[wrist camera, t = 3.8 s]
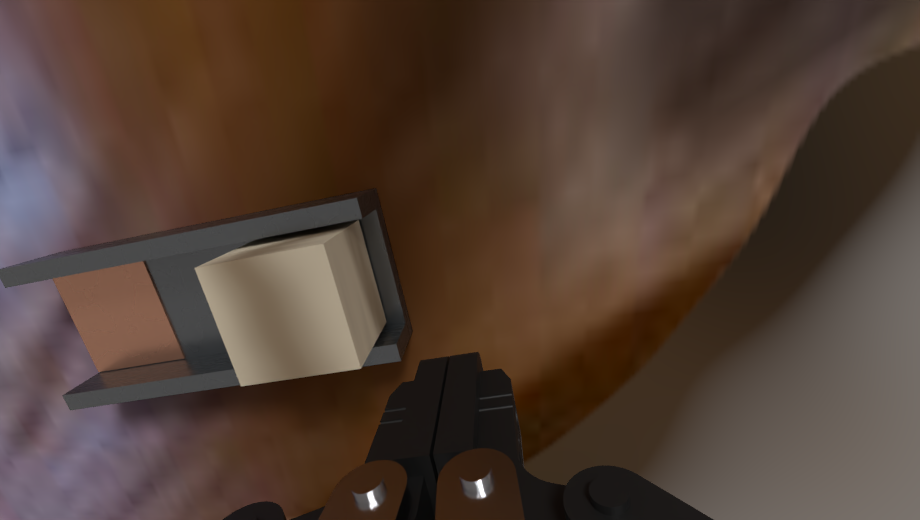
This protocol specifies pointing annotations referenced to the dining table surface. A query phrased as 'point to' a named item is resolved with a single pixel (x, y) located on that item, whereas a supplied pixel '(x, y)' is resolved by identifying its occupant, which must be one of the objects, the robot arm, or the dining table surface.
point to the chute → (190, 299)
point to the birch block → (295, 303)
